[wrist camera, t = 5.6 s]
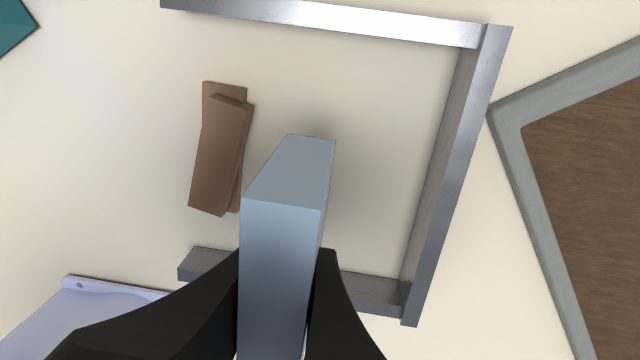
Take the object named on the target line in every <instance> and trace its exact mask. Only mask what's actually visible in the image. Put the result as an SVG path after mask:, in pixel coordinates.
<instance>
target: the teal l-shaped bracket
mask: <svg viewBox="0 0 640 360" xmlns="http://www.w3.org/2000/svg"><path fill="white" fill-rule="evenodd" d="M36 27H37V26H36V25H35V23H34V22H33V20H32V19H31V17H30V16H29V14H28V13H27V11H26V10H25V8H24V7H23V5H22V4H21V2H20V1H19V0H0V56H1V55H2V54H4V53H5V52H6V51H7V50H9V49H10V48H11V47H12V46H14V45H15V44H16V43H17V42H19V41H20V40H21V39H22V38H24V37H25V36H26V35H27V34H29V33H30V32H31V31H32V30H34V29H35V28H36Z"/></svg>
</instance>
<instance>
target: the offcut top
mask: <svg viewBox="0 0 640 360" xmlns="http://www.w3.org/2000/svg"><path fill="white" fill-rule="evenodd" d="M253 107H254V106H252V105H249V104H246V103H243V102H240V101H238V100H235V99H232V98H229V97H227V96H224V95H221V94H218V93H215V94H212V95H210V96H207V101H206V107H205V112H204V118H203V123H202V129H201V134H200V140H199V145H198V151H197V156H196V162H195V167H194V173H193V178H192V184H191V189H190V195H189V200H188V206H190V207H193V208H196V209H198V210H201V211H204V212H207V213H210V214H213V215H216V216H218V217H221V218H222V216H223V215H224V214H225V212H226V211H227V210H228V209H229V205H230V201H231V197H232V193H233V189H234V185H235V180H236V176H237V172H238V168H239V164H240V160H241V156H242V152H243V148H244V144H245V139H246V135H247V131H248V127H249V123H250V119H251V115H252V111H253Z"/></svg>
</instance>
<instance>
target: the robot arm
mask: <svg viewBox="0 0 640 360" xmlns="http://www.w3.org/2000/svg"><path fill="white" fill-rule="evenodd" d="M238 279H239V248H237V249H236V250H235V251H234V252H233V253H231V254H230V255H229V256H227V257H226V258H225V259H224V260H222V261H221V262H220V263H218V264H217V265H216V266H214V267H213V268H211V269H210V270H209V271H207V272H206V273H204V274H203V275H201V276H200V277H198V278H197V279H195V280H194V281H192V282H190V283H189V284H187V285H185V286H183V287H182V288H180V289H178V290H176V291H174V292H172V293H169V292H163V291H157V290H152V289H146V288H140V287H134V286H129V285H123V284H117V283H112V282H106V281H100V280H94V279H89V278H83V277H77V276H72V275H67V276H65V277H64V278H63V279H62V285H63V289H62V290H60V291H59V292H58V293H57V294H56V295H54V296H53V297H52V298H51V299H50V300H49V301H47V302H46V303H45V304H44V305H43V306H41V307H40V308H39V309H38V310H37V311H36V312H34V313H33V314H32V315H31V316H30V317H28V318H27V319H26V320H25V321H24V322H22V323H21V324H20V325H19V326H18V327H17V328H15V329H14V330H13V331H12V332H11V333H9V334H8V335H7V336H6V337H5V338H4V339H2V340H1V341H0V360H233V359H234V356H235V354H236V352H237V318H238ZM304 360H387V359H386V358H385V356H384V355H383V353H382V352H381V351H380V349H379V348H378V346H377V345H376V344H375V342H374V341H373V339H372V338H371V336H370V335H369V333H368V332H367V330H366V328H365V327H364V325H363V323H362V322H361V320H360V318H359V316H358V314H357V312H356V310H355V308H354V306H353V304H352V302H351V300H350V297H349V295H348V293H347V290H346V288H345V285H344V282H343V279H342V276H341V273H340V270H339V266H338V262H337V256H336V251H335V250H334V249H328V248H322V247H319V250H318V255H317V260H316V266H315V273H314V280H313V287H312V294H311V301H310V308H309V315H308V322H307V336H306V349H305V357H304Z"/></svg>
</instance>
